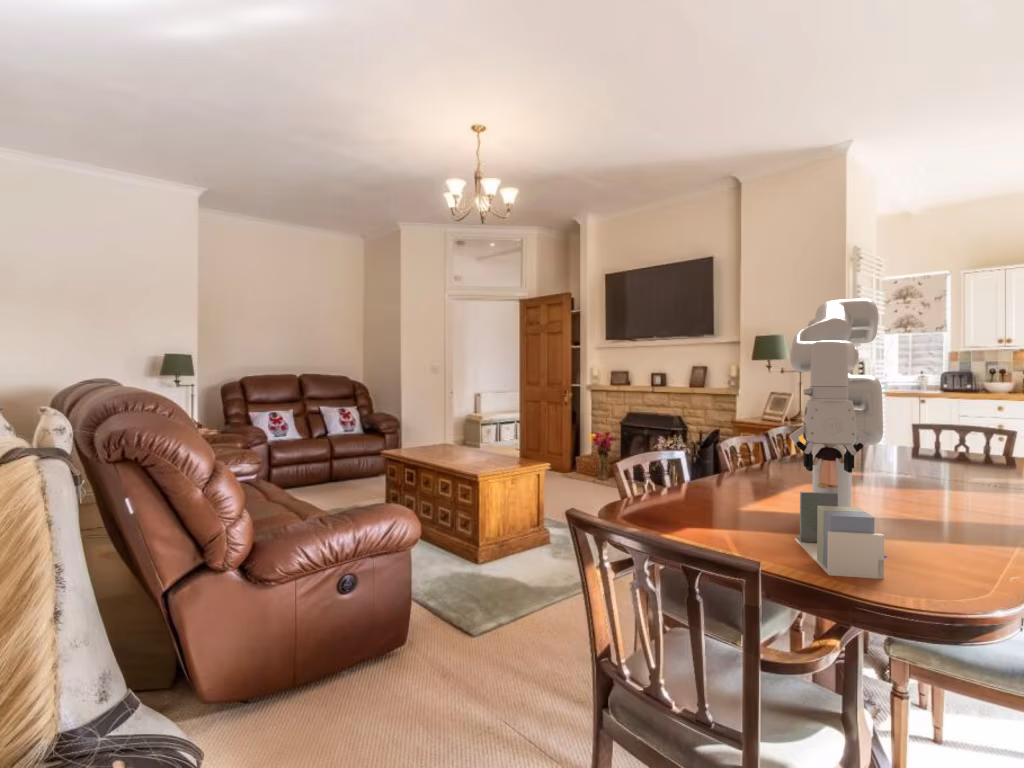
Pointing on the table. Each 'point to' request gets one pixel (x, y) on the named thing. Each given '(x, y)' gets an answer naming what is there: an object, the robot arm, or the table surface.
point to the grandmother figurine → (828, 465)
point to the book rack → (851, 554)
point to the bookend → (813, 512)
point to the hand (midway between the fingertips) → (828, 470)
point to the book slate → (846, 525)
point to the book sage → (821, 526)
